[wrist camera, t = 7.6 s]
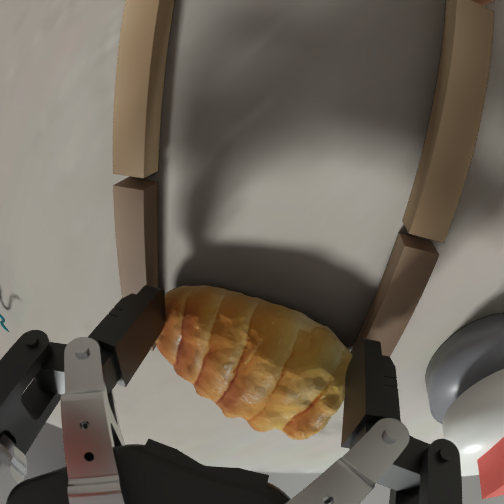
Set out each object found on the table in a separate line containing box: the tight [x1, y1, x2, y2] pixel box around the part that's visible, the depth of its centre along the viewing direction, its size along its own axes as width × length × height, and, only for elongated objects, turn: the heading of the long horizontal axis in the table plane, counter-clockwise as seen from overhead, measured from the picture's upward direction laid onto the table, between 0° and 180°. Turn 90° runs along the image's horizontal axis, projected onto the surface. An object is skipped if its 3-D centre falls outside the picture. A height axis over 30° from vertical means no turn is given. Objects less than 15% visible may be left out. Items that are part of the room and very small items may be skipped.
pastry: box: [155, 285, 353, 440], centre depth 14 cm, size 9×7×4 cm
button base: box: [425, 313, 504, 424], centre depth 13 cm, size 7×7×2 cm
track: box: [113, 0, 494, 357], centre depth 9 cm, size 13×28×1 cm, turn 172°
